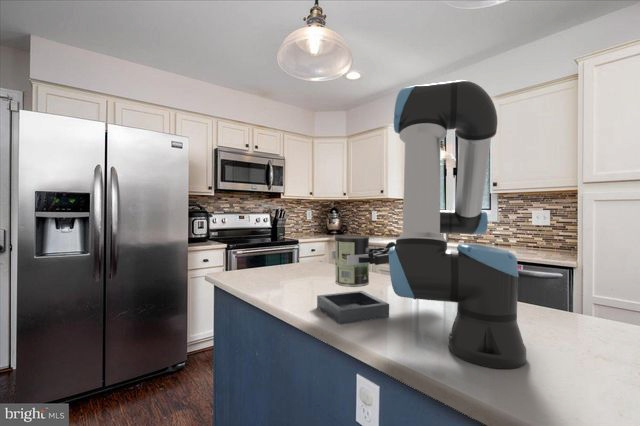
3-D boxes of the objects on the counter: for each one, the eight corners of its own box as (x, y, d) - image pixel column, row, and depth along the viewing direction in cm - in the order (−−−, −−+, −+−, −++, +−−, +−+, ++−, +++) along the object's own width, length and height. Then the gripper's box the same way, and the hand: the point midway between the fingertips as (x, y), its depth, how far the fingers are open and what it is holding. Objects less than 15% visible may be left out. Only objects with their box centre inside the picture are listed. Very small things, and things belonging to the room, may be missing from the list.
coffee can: (366, 279, 103) (366, 234, 102) (371, 287, 92) (371, 238, 92) (334, 278, 103) (334, 234, 102) (335, 287, 93) (335, 238, 92)
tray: (389, 317, 93) (389, 304, 93) (339, 324, 87) (339, 310, 87) (361, 301, 108) (361, 290, 108) (317, 307, 102) (317, 295, 102)
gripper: (424, 271, 94) (357, 278, 85) (381, 259, 115) (324, 263, 106) (425, 245, 94) (357, 249, 85) (381, 238, 115) (324, 240, 106)
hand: (339, 257), depth 96 cm, fingers closed on coffee can, 10 cm apart
